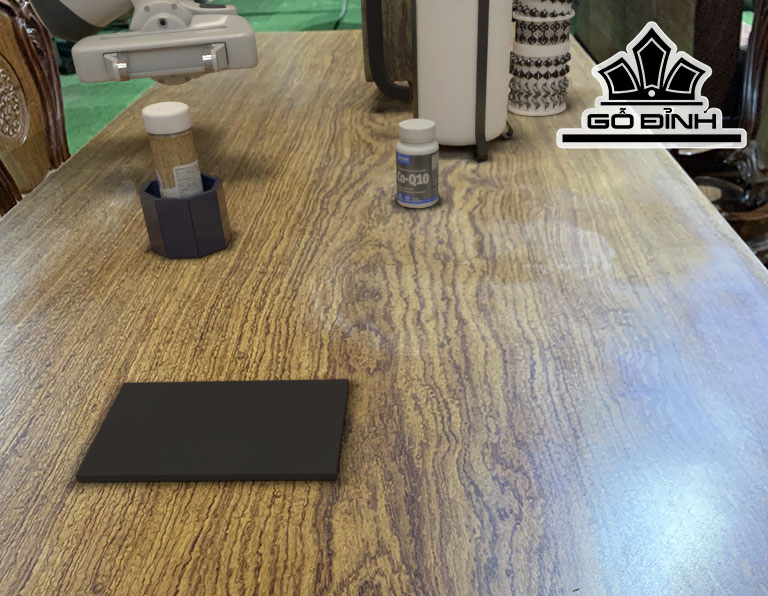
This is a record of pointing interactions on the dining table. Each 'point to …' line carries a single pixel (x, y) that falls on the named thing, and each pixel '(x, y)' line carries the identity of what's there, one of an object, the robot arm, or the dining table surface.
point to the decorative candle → (540, 57)
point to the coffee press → (453, 68)
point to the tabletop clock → (391, 43)
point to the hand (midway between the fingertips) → (166, 68)
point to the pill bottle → (417, 164)
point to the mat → (220, 432)
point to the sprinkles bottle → (173, 149)
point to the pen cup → (186, 219)
